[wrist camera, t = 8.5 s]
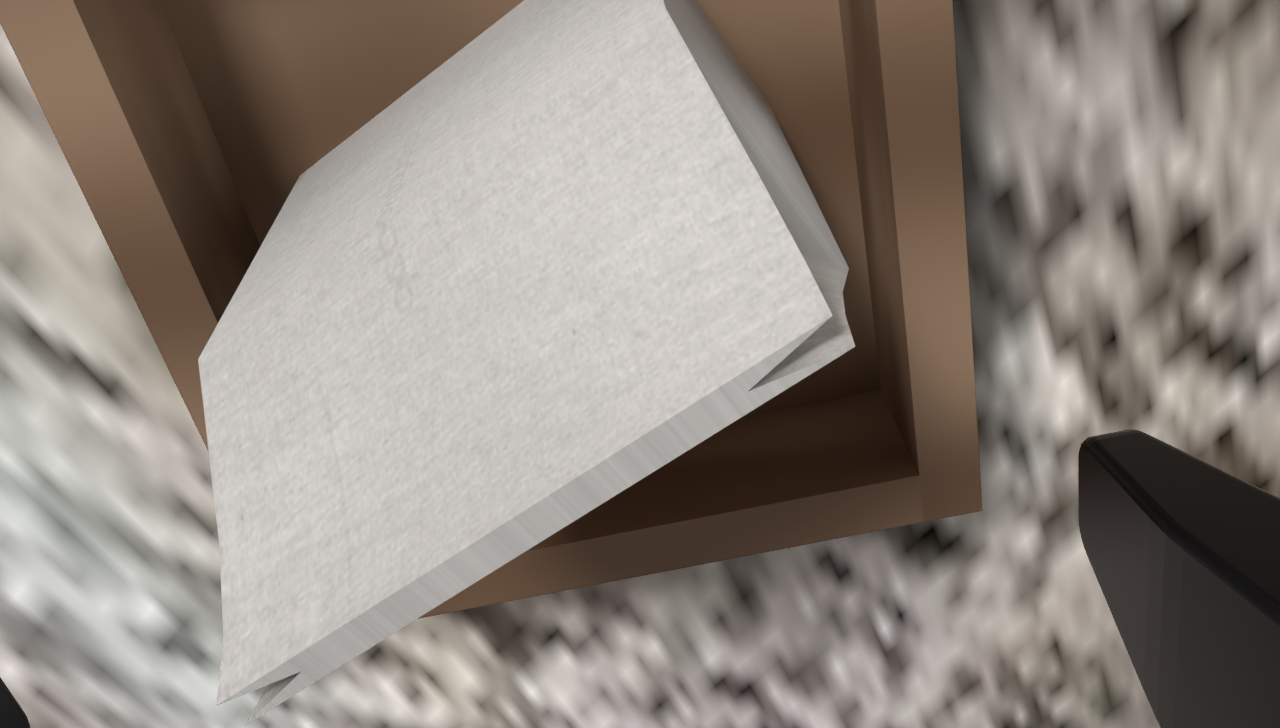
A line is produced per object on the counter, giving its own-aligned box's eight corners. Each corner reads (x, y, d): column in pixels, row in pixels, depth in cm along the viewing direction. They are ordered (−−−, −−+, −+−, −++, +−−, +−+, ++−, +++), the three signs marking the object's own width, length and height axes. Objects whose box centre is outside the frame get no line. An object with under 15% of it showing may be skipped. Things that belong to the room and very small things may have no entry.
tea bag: (300, 175, 19) (67, 595, 10) (635, -88, 17) (708, 145, 8) (449, 333, 20) (361, 811, 12) (771, 108, 18) (949, 476, 10)
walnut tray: (926, 400, 22) (982, 510, 19) (335, 516, 23) (300, 641, 20) (853, -463, 15) (923, -499, 12) (1, -259, 16) (-130, -247, 13)
